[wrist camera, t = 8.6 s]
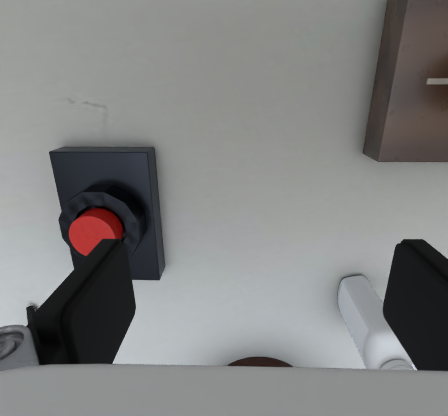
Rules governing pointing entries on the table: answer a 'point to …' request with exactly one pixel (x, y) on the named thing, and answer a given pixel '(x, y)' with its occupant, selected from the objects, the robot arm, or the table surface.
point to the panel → (411, 85)
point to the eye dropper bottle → (370, 326)
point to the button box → (114, 199)
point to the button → (94, 229)
